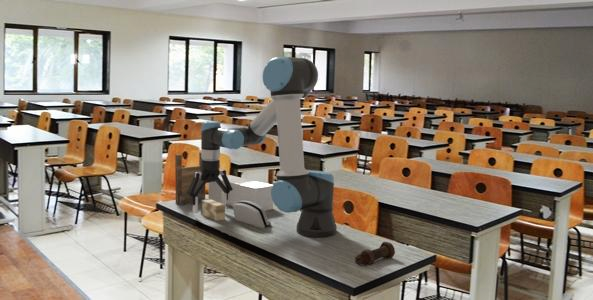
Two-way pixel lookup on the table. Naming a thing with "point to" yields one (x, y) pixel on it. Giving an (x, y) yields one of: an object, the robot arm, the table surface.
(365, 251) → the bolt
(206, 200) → the tan wooden block
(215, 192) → the white ribbed block
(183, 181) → the wooden cleated plank
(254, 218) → the white rounded block
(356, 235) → the table surface
